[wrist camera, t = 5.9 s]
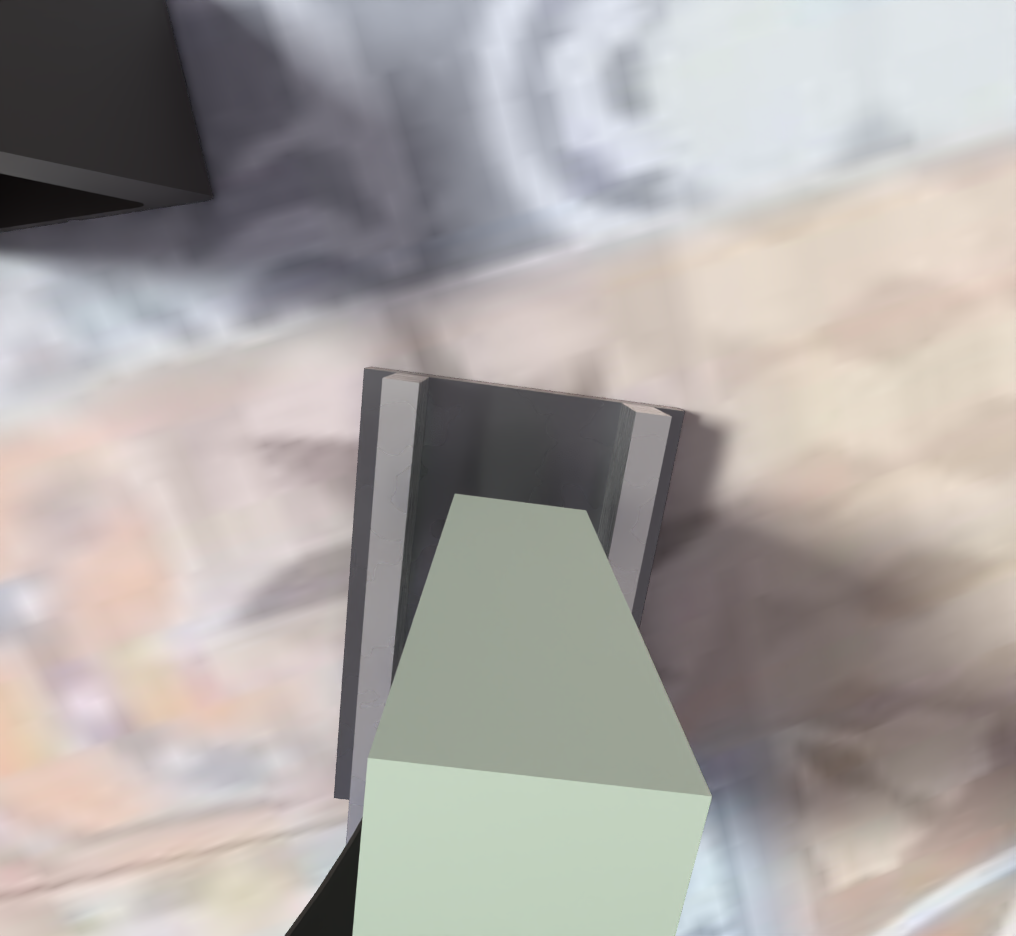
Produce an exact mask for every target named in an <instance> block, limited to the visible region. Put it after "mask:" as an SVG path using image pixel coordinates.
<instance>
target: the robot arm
mask: <svg viewBox="0 0 1016 936" xmlns="http://www.w3.org/2000/svg"><path fill="white" fill-rule="evenodd" d="M362 819H363V817H362ZM362 819H361V821H360V822H359V824H358V826H357V828H356V830H355V831H354V833H353V835H352V836H351V838H350V840H349V841H348V843H347V845H346V846H345V848H344V850H343V851H342V853H341V855H340V856H339V858H338V859H337V861H336V862H335V864H334V865H333V867H332V868H331V870H330V871H329V873H328V875H327V876H326V878H325V879H324V881H323V882H322V884H321V885H320V887H319V888H318V890H317V891H316V893H315V894H314V896H313V897H312V899H311V900H310V901H309V903H308V904H307V906H306V907H305V908H304V910H303V911H302V912H301V914H300V915H299V917H298V918H297V919H296V921H295V922H294V923H293V925H292V926H291V928H290V929H289V930H288V932H287V933H286V934H285V936H352V934H353V923H354V911H355V900H356V888H357V877H358V865H359V854H360V842H361V831H362Z"/></svg>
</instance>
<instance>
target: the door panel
mask: <svg viewBox="0 0 1016 936" xmlns="http://www.w3.org/2000/svg"><path fill="white" fill-rule="evenodd" d="M711 799H712V795H711V793H710V791H709V788H708V786H707V784H706V781H705V779H704V777H703V775H702V772H701V770H700V768H699V766H698V763H697V761H696V759H695V757H694V754H693V752H692V750H691V747H690V745H689V743H688V741H687V738H686V736H685V734H684V732H683V729H682V727H681V725H680V722H679V720H678V718H677V716H676V713H675V711H674V709H673V707H672V704H671V702H670V700H669V697H668V695H667V693H666V691H665V688H664V686H663V684H662V682H661V679H660V677H659V675H658V672H657V670H656V668H655V666H654V663H653V661H652V659H651V657H650V654H649V652H648V650H647V648H646V645H645V643H644V641H643V638H642V636H641V634H640V632H639V629H638V627H637V625H636V623H635V620H634V618H633V616H632V613H631V611H630V609H629V607H628V604H627V602H626V600H625V598H624V595H623V593H622V591H621V588H620V586H619V584H618V582H617V579H616V577H615V575H614V573H613V570H612V568H611V566H610V563H609V561H608V559H607V557H606V554H605V552H604V550H603V548H602V545H601V543H600V541H599V539H598V536H597V534H596V532H595V529H594V527H593V525H592V523H591V520H590V518H589V516H588V514H587V511H586V510H579V509H571V508H564V507H556V506H548V505H540V504H532V503H524V502H516V501H509V500H501V499H493V498H485V497H477V496H469V495H462V494H455V495H454V498H453V501H452V504H451V507H450V510H449V513H448V516H447V519H446V522H445V525H444V528H443V531H442V534H441V537H440V540H439V543H438V546H437V549H436V552H435V555H434V558H433V561H432V564H431V567H430V570H429V574H428V577H427V580H426V583H425V586H424V589H423V592H422V595H421V598H420V601H419V604H418V607H417V610H416V613H415V616H414V619H413V622H412V625H411V628H410V631H409V634H408V637H407V640H406V643H405V646H404V649H403V652H402V656H401V659H400V662H399V665H398V668H397V671H396V674H395V677H394V680H393V683H392V686H391V689H390V692H389V695H388V698H387V701H386V704H385V707H384V710H383V713H382V716H381V719H380V722H379V725H378V728H377V731H376V735H375V738H374V741H373V744H372V747H371V750H370V753H369V756H368V761H367V773H366V784H365V796H364V808H363V819H362V831H361V842H360V854H359V865H358V877H357V888H356V900H355V911H354V923H353V934H352V936H675V934H676V931H677V927H678V923H679V919H680V916H681V912H682V908H683V904H684V900H685V897H686V893H687V889H688V885H689V882H690V878H691V874H692V870H693V867H694V863H695V859H696V855H697V851H698V848H699V844H700V840H701V836H702V833H703V829H704V825H705V821H706V818H707V814H708V810H709V806H710V802H711Z"/></svg>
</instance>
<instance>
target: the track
mask: <svg viewBox="0 0 1016 936" xmlns="http://www.w3.org/2000/svg"><path fill="white" fill-rule="evenodd" d="M684 413H685V411H683V410H681V409H679V408H675V407H667V406H660V405H652V404H645V403H637V402H630V401H622V400H615V399H608V398H600V397H593V396H585V395H578V394H570V393H563V392H555V391H548V390H540V389H533V388H526V387H518V386H511V385H503V384H496V383H488V382H481V381H473V380H466V379H459V378H451V377H444V376H436V375H429V374H421V373H414V372H406V371H399V370H391V369H384V368H377V367H367V368H364V378H363V392H362V406H361V421H360V435H359V449H358V463H357V477H356V492H355V506H354V520H353V534H352V549H351V563H350V577H349V591H348V605H347V620H346V634H345V648H344V662H343V676H342V691H341V705H340V719H339V733H338V747H337V762H336V776H335V790H334V798H338V799H348V800H349V811H348V824H347V837H346V845H347V843H348V841H349V840H350V838H351V836H352V835H353V833H354V831H355V830H356V828H357V826H358V824H359V822H360V821H361V819H362V817H363V808H364V796H365V784H366V773H367V761H368V756H369V753H370V750H371V747H372V744H373V741H374V738H375V735H376V731H377V728H378V725H379V722H380V719H381V716H382V713H383V710H384V707H385V704H386V701H387V698H388V695H389V692H390V689H391V686H392V683H393V680H394V677H395V674H396V671H397V668H398V665H399V662H400V659H401V656H402V652H403V649H404V646H405V643H406V640H407V637H408V634H409V631H410V628H411V625H412V622H413V619H414V616H415V613H416V610H417V607H418V604H419V601H420V598H421V595H422V592H423V589H424V586H425V583H426V580H427V577H428V574H429V570H430V567H431V564H432V561H433V558H434V555H435V552H436V549H437V546H438V543H439V540H440V537H441V534H442V531H443V528H444V525H445V522H446V519H447V516H448V513H449V510H450V507H451V504H452V501H453V498H454V495H455V494H462V495H469V496H477V497H485V498H493V499H501V500H509V501H516V502H524V503H532V504H540V505H548V506H556V507H564V508H571V509H579V510H586V511H587V514H588V516H589V518H590V520H591V523H592V525H593V527H594V529H595V532H596V534H597V536H598V539H599V541H600V543H601V545H602V548H603V550H604V552H605V554H606V557H607V559H608V561H609V563H610V566H611V568H612V570H613V573H614V575H615V577H616V579H617V582H618V584H619V586H620V588H621V591H622V593H623V595H624V598H625V600H626V602H627V604H628V607H629V609H630V611H631V613H632V616H633V618H634V620H635V623H636V625H637V627H638V629H639V627H640V622H641V618H642V613H643V608H644V603H645V599H646V594H647V589H648V584H649V580H650V575H651V570H652V565H653V561H654V556H655V551H656V546H657V542H658V537H659V532H660V527H661V523H662V518H663V513H664V508H665V504H666V499H667V494H668V489H669V485H670V480H671V475H672V470H673V466H674V461H675V456H676V451H677V447H678V442H679V437H680V432H681V428H682V423H683V418H684Z"/></svg>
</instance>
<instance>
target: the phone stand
mask: <svg viewBox="0 0 1016 936" xmlns="http://www.w3.org/2000/svg"><path fill="white" fill-rule="evenodd" d="M212 199H213V194H212V190H211V186H210V182H209V178H208V173H207V169H206V165H205V161H204V157H203V153H202V149H201V145H200V141H199V136H198V132H197V128H196V124H195V120H194V116H193V112H192V108H191V104H190V99H189V95H188V91H187V87H186V83H185V79H184V75H183V71H182V67H181V62H180V58H179V54H178V50H177V46H176V42H175V38H174V34H173V30H172V26H171V21H170V17H169V13H168V9H167V5H166V1H165V0H0V232H6V231H13V230H19V229H26V228H32V227H39V226H46V225H52V224H59V223H65V222H68V221H67V220H85V219H92V218H98V217H105V216H111V215H118V214H125V213H131V212H138V211H144V210H151V209H157V208H164V207H171V206H177V205H184V204H190V203H197V202H204V201H209V200H212Z"/></svg>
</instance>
